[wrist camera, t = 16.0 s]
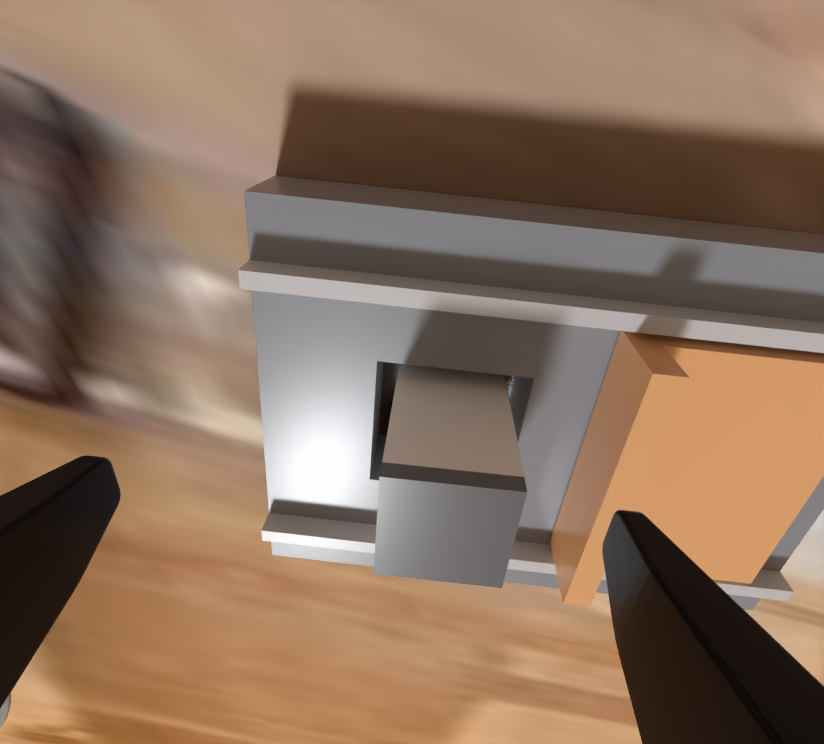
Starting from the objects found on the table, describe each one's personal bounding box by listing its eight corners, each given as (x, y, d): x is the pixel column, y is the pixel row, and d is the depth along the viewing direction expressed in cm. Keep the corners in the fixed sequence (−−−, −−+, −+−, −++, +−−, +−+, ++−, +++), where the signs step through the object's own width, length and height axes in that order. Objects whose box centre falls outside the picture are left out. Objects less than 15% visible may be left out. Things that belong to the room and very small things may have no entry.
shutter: (869, 356, 16) (948, 406, 13) (738, 563, 21) (777, 628, 18) (620, 328, 16) (652, 373, 13) (549, 541, 21) (563, 603, 18)
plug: (500, 353, 20) (527, 492, 13) (485, 432, 22) (501, 588, 15) (402, 343, 20) (379, 476, 13) (396, 422, 22) (373, 574, 15)
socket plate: (908, 243, 17) (1025, 283, 14) (720, 556, 25) (764, 631, 22) (274, 175, 17) (231, 197, 14) (290, 506, 25) (265, 573, 22)
